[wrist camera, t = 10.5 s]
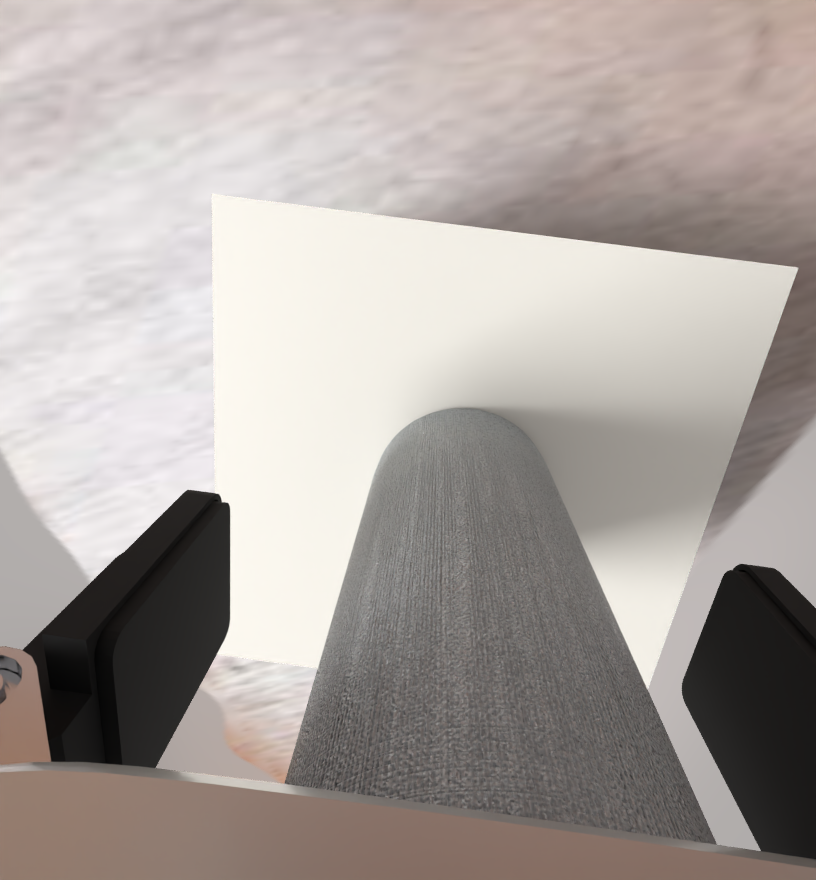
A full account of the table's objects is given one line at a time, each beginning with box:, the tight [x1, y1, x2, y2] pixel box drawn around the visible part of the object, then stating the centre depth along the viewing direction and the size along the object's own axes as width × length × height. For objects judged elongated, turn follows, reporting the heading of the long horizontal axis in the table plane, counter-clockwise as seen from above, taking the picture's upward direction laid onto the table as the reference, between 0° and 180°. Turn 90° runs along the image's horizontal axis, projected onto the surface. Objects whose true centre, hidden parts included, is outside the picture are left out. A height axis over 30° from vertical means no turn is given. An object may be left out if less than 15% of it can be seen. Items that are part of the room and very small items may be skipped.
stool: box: [212, 194, 798, 690], centre depth 19 cm, size 13×13×9 cm
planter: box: [285, 408, 717, 845], centre depth 9 cm, size 4×4×10 cm
